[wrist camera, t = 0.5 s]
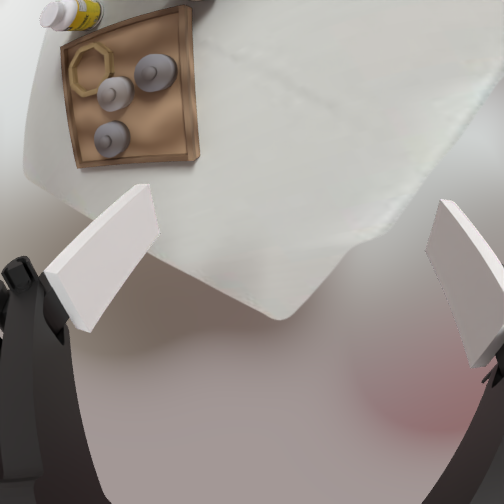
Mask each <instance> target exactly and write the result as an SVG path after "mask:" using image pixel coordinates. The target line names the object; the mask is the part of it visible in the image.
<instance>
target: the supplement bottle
mask: <svg viewBox="0 0 504 504" xmlns="http://www.w3.org/2000/svg"><path fill="white" fill-rule="evenodd" d="M102 16H103V6H102V4H101V3H100V2H97V1H92V0H61V1H60V2H51V3H49V4H48V5H46V7H45V8H44V9H43V11H42V13H41V16H40V24H41V26H42V27H45V28H46V27H51V28H52V29H53V30H55V31H87V30H91V29H93V28H94V27H95V26H96V25H97V24H98V23H99V22H100V20H101V19H102Z"/></svg>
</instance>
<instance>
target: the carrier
mask: <svg viewBox="0 0 504 504" xmlns="http://www.w3.org/2000/svg"><path fill="white" fill-rule="evenodd" d="M60 50H61V68H62V80H63V90H64V98H65V106H66V113H67V120H68V126H69V132H70V137H71V142H72V148H73V152H74V157H75V162H76V166H77V169H78V168H86V167H96V166H106V165H117V164H130V163H145V162H166V161H194V160H195V159H197V158H198V157H199V156H200V147H199V136H198V123H197V109H196V95H195V78H194V59H193V35H192V8H191V7H189V6H187V5H180V6H175V7H170V8H166V9H162V10H158V11H154V12H151V13H147V14H143V15H140V16H137V17H133V18H130V19H127V20H124V21H121V22H118V23H115V24H113V25H110V26H107V27H105V28H102V29H99V30H97V31H94V32H92V33H90V34H87V35H85V36H83V37H80V38H78V39H76V40H74V41H72V42H70V43H67V44H65V45H63V46H61V47H60Z"/></svg>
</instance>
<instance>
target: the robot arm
mask: <svg viewBox="0 0 504 504" xmlns="http://www.w3.org/2000/svg"><path fill="white" fill-rule="evenodd" d="M160 234H161V233H160V229H159V225H158V221H157V216H156V212H155V207H154V203H153V198H152V194H151V189H150V184H136V185H135V186H133V187H132V188H131V189H130V190H128V191H127V192H126V193H125V194H124V195H122V196H121V197H120V198H119V199H118V200H117V201H115V202H114V203H113V204H112V205H111V206H110V207H108V208H107V209H106V210H105V211H104V212H103V213H102V214H101V215H99V216H98V217H97V218H96V219H95V220H94V221H93V222H92V223H91V224H90V225H89V226H88V227H87V228H85V229H84V230H83V231H82V232H81V233H80V234H79V235H78V236H77V237H76V238H75V239H74V240H73V241H72V242H71V243H70V244H69V245H68V246H67V247H66V248H65V249H64V250H63V251H62V252H61V253H60V254H59V255H58V256H57V257H56V258H55V259H54V260H53V261H52V262H51V263H50V265H49V266H48V267H47V268H46V269H45V270H44V271H43V272H42V273H41V275H40V276H39V277H38V275H37V273H36V272H35V270H34V268H33V266H32V264H31V262H30V259H29V258H28V257H27V256H21V257H18V258H16V259H14V260H12V261H11V262H10V263H9V264H7V266H6V267H5V268H4V269H3V271H2V273H1V274H2V276H3V278H4V280H5V281H6V283H7V285H8V287H9V288H10V290H7V288H6V286H5V285H4V283H3V281H1V280H0V329H1V330H2V331H3V333H4V334H3V339H1V337H0V504H111V502H109V500H108V499H107V498H106V497H105V495H104V493H103V491H102V488H101V486H100V483H99V480H98V477H97V474H96V471H95V468H94V465H93V461H92V458H91V455H90V451H89V447H88V444H87V440H86V436H85V432H84V428H83V424H82V419H81V415H80V410H79V404H78V399H77V393H76V387H75V381H74V374H73V366H72V358H71V349H70V336H69V329H68V326H67V325H66V321H67V320H68V319H69V318H70V319H71V321H72V322H73V324H74V326H75V327H76V328H77V329H80V330H83V331H87V332H89V333H90V332H91V331H92V330H93V328H94V326H95V325H96V323H97V322H98V320H99V319H100V317H101V316H102V314H103V313H104V311H105V310H106V308H107V307H108V305H109V304H110V302H111V300H112V299H113V298H114V296H115V295H116V293H117V292H118V291H119V289H120V288H121V286H122V285H123V283H124V282H125V281H126V279H127V278H128V276H129V275H130V274H131V272H132V271H133V270H134V268H135V267H136V265H137V264H138V263H139V261H140V260H141V259H142V257H143V256H144V255H145V253H146V252H147V251H148V249H149V248H150V247H151V245H152V244H153V243H154V241H155V240H156V239H157V238H158V236H159V235H160ZM425 252H426V254H427V256H428V258H429V260H430V262H431V264H432V266H433V269H434V270H435V273H436V275H437V277H438V280H439V282H440V284H441V286H442V289H443V291H444V294H445V296H446V299H447V300H448V304H449V306H450V309H451V311H452V314H453V317H454V319H455V322H456V324H457V328H458V330H459V333H460V336H461V339H462V342H463V345H464V348H465V352H466V355H467V358H468V362H469V365H470V368H478V367H485V366H486V365H487V364H488V363H489V362H490V361H491V359H492V358H493V357H494V356H496V359H497V362H498V363H497V364H496V365H495V366H494V368H493V369H492V370H491V371H490V372H489V373H488V374H487V375H486V376H485V378H484V379H483V380H482V383H484V382H485V381H486V380H487V379H489V381H488V384H487V385H486V389H485V391H484V394H483V396H482V399H481V401H480V404H479V406H478V408H477V411H476V413H475V415H474V417H473V419H472V422H471V424H470V426H469V428H468V430H467V432H466V434H465V436H464V438H463V440H462V441H461V443H460V445H459V447H458V449H457V450H456V452H455V454H454V456H453V458H452V459H451V461H450V462H449V464H448V466H447V467H446V469H445V471H444V472H443V474H442V475H441V477H440V478H439V480H438V482H437V483H436V484H435V486H434V487H433V489H432V490H431V492H430V493H429V494H428V496H427V497H426V498H425V500H424V501H423V502H422V504H504V265H503V264H502V263H501V262H500V261H499V260H498V258H497V257H496V255H495V254H494V252H493V251H492V249H491V248H490V247H489V245H488V244H487V242H486V241H485V240H484V239H483V237H482V236H481V234H480V233H479V232H478V231H477V229H476V228H475V227H474V225H473V224H472V223H471V222H470V220H469V219H468V218H467V217H466V215H465V214H464V213H463V212H462V211H461V210H460V208H459V207H458V206H457V205H456V204H455V202H454V201H449V200H443V199H440V201H439V205H438V209H437V213H436V216H435V220H434V223H433V227H432V230H431V234H430V237H429V240H428V243H427V246H426V250H425Z"/></svg>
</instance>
